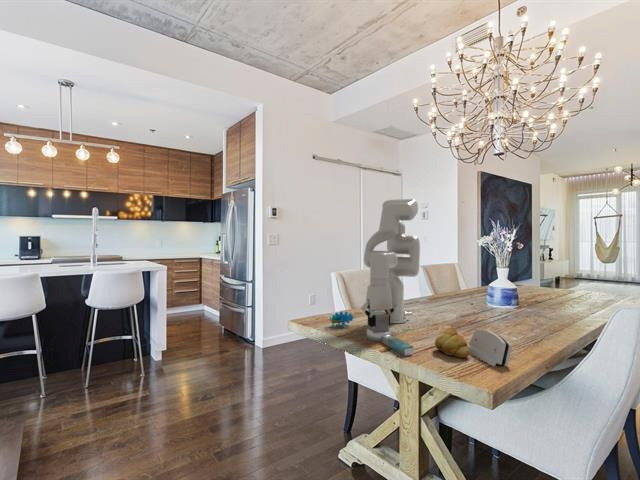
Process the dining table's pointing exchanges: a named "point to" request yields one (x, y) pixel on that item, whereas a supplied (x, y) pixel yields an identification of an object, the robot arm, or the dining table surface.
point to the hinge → (490, 347)
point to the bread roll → (452, 343)
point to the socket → (380, 322)
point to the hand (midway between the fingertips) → (378, 325)
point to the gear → (341, 318)
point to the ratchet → (391, 342)
